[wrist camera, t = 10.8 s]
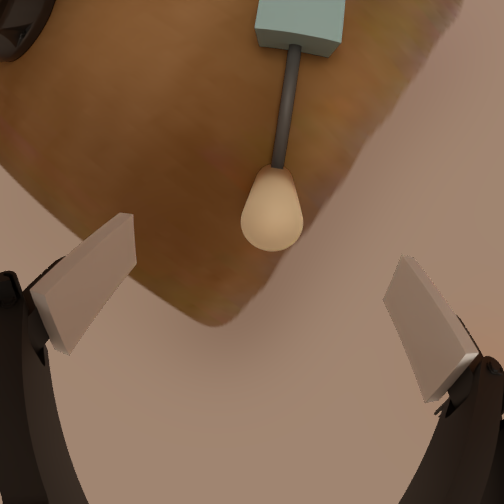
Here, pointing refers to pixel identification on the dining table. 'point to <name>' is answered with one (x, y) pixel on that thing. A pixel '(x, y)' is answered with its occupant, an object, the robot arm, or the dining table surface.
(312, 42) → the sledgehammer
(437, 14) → the dining table surface
